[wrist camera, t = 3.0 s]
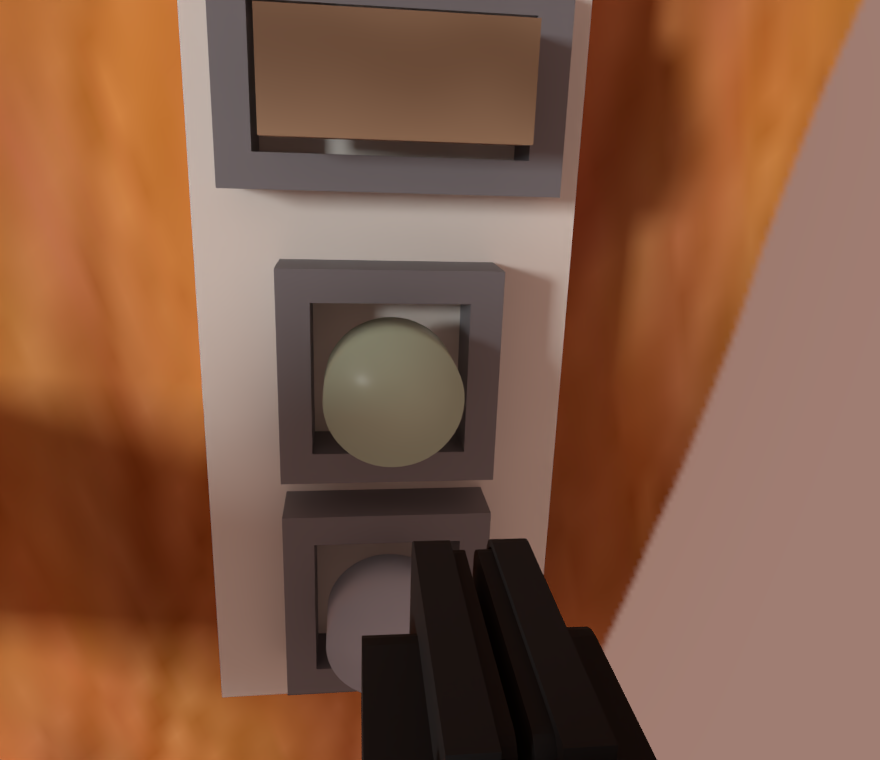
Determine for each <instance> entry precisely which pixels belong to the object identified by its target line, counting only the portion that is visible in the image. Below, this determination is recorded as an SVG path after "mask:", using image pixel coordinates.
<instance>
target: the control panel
mask: <svg viewBox="0 0 880 760" xmlns="http://www.w3.org/2000/svg"><path fill="white" fill-rule="evenodd" d="M252 1H264V2H281V3H298V4H315V5H331V6H348V7H365V8H382V9H398V10H415V11H432V12H449V13H465V14H482V15H499V16H516V17H532V18H542V21H541V36H540V51H539V66H538V81H537V96H536V111H535V125H534V140H533V145H524V146H508V145H481V144H454V143H427V142H400V141H373V140H346V139H319V138H292V137H265V136H260V135H257V117H256V91H255V64H254V37H253V11H252ZM177 4H178V20H179V35H180V51H181V66H182V82H183V97H184V113H185V128H186V144H187V159H188V175H189V191H190V206H191V222H192V237H193V253H194V268H195V284H196V299H197V315H198V330H199V346H200V361H201V377H202V392H203V408H204V423H205V439H206V454H207V470H208V485H209V501H210V516H211V532H212V547H213V563H214V578H215V594H216V609H217V625H218V641H219V656H220V672H221V687H222V697H236V696H254V695H272V694H288V695H301V694H318V693H336V692H353V691H356V690H354V689H352V688H351V687H349V686H348V685H346V684H345V683H344V682H343V681H341V680H340V679H339V678H338V676H337V675H336V674H335V673H334V671H333V669H332V668H331V666H330V663H329V661H328V657H327V652H326V634H327V609H328V599H329V595H330V592H331V590H332V588H333V586H334V584H335V582H336V581H337V579H338V578H339V577H340V576H341V575H342V574H343V573H344V572H345V571H346V570H347V569H348V568H349V567H351V566H352V565H354V564H355V563H357V562H359V561H361V560H363V559H366V558H369V557H372V556H376V555H382V554H398V555H404V556H408V557H411V551H412V542H413V541H436V540H450V542H451V545H452V549H453V550H465V552H466V555H467V559H468V563H469V566H470V570H471V574H472V576H473V559H474V552H475V550H476V549H486V548H487V543H488V540H489V539H515V538H526V539H527V540H528V542H529V544H530V546H531V548H532V551H533V553H534V555H535V557H536V560H537V562H538V564H539V566H540V569H541V571H542V573H543V575H544V565H545V553H546V542H547V530H548V518H549V506H550V495H551V483H552V471H553V459H554V448H555V436H556V424H557V412H558V400H559V389H560V377H561V365H562V353H563V342H564V330H565V318H566V306H567V295H568V283H569V271H570V259H571V247H572V236H573V224H574V212H575V200H576V189H577V177H578V165H579V153H580V142H581V130H582V118H583V106H584V95H585V83H586V71H587V59H588V47H589V36H590V24H591V12H592V0H177ZM382 317H399V318H405V319H409V320H412V321H415V322H417V323H419V324H421V325H423V326H425V327H427V328H428V329H430V330H431V331H432V332H433V333H434V334H436V335H437V336H438V337H439V339H440V340H441V341H442V342H443V344H444V345H445V347H446V348H447V350H448V352H449V354H450V356H451V358H452V360H453V361H454V363H455V365H456V367H457V369H458V372H459V374H460V376H461V379H462V382H463V387H464V400H465V402H464V410H463V414H462V418H461V421H460V423H459V426H458V428H457V429H456V431H455V433H454V435H453V436H452V437H451V439H450V440H449V441H448V442H447V443H446V444H445V446H444V447H443V448H441V449H440V450H439V451H438V452H436V453H435V454H434V455H432V456H430V457H429V458H427V459H425V460H423V461H421V462H418V463H415V464H412V465H407V466H402V467H382V466H376V465H372V464H369V463H366V462H364V461H361V460H359V459H357V458H356V457H354V456H352V455H351V454H349V453H348V452H347V451H346V450H344V449H343V448H342V447H341V446H340V445H339V444H338V443H337V441H336V440H335V439H334V437H333V436H332V434H331V432H330V430H329V429H328V426H327V423H326V421H325V417H324V413H323V404H322V401H323V387H324V376H325V369H326V364H327V362H328V359H329V356H330V354H331V352H332V350H333V348H334V347H335V346H336V344H337V343H338V341H339V340H340V339H341V338H342V337H343V336H344V335H345V334H346V333H347V332H349V331H350V330H351V329H353V328H354V327H356V326H358V325H360V324H362V323H364V322H366V321H369V320H372V319H377V318H382Z"/></svg>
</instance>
